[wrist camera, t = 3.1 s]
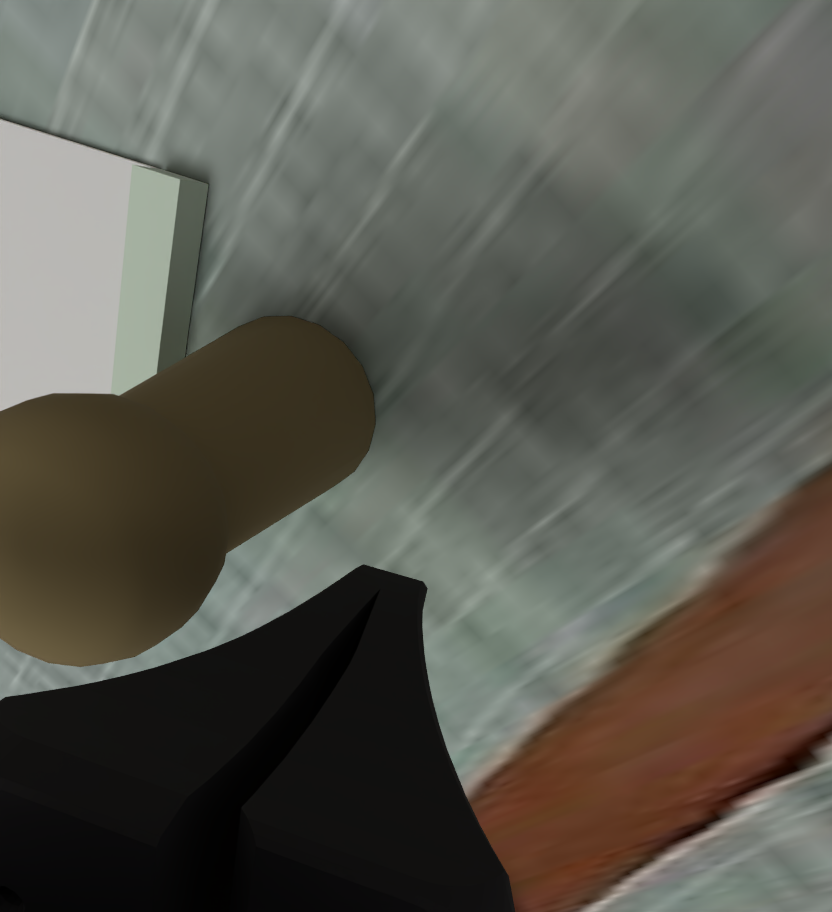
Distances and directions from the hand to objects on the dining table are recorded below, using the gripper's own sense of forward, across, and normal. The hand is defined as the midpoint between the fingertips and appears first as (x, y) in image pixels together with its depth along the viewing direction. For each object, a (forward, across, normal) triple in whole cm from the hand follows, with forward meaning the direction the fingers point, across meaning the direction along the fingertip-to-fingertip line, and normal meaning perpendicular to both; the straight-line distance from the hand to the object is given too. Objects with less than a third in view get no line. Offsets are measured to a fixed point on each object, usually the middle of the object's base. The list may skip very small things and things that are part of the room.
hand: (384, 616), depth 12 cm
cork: (+9, +6, -1) cm, 10 cm away
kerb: (+8, +10, -1) cm, 13 cm away
